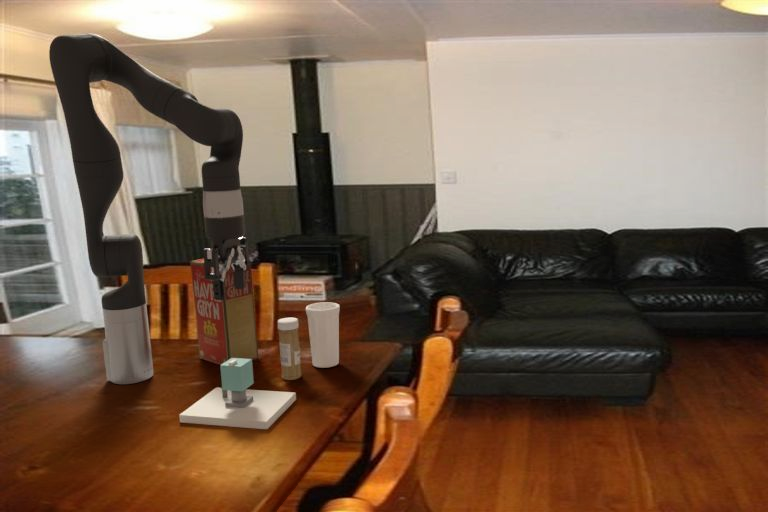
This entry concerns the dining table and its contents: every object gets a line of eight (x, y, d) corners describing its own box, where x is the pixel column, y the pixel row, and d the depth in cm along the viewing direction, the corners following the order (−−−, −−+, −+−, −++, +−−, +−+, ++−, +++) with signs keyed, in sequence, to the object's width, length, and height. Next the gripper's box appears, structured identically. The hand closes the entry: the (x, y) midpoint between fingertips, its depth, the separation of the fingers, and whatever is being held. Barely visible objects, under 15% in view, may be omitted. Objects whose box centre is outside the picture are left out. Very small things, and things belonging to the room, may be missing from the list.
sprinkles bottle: (305, 377, 139) (301, 319, 137) (286, 382, 137) (282, 323, 135) (296, 372, 143) (292, 315, 141) (278, 376, 141) (274, 319, 138)
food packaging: (197, 358, 155) (188, 260, 151) (228, 348, 162) (220, 254, 158) (228, 369, 147) (220, 265, 143) (260, 358, 154) (253, 258, 150)
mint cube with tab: (234, 381, 124) (232, 354, 123) (253, 383, 123) (251, 356, 122) (222, 389, 120) (219, 362, 119) (242, 391, 119) (240, 363, 118)
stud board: (179, 422, 118) (177, 398, 117) (216, 394, 131) (215, 373, 131) (267, 429, 114) (265, 405, 113) (296, 399, 127) (294, 377, 126)
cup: (330, 372, 142) (326, 312, 139) (301, 367, 146) (298, 308, 143) (349, 361, 149) (346, 303, 146) (321, 357, 153) (318, 300, 150)
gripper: (224, 218, 113) (231, 304, 116) (257, 208, 127) (262, 285, 130) (187, 218, 115) (195, 303, 118) (223, 208, 128) (229, 284, 132)
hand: (230, 293), depth 124 cm, fingers open, 8 cm apart
